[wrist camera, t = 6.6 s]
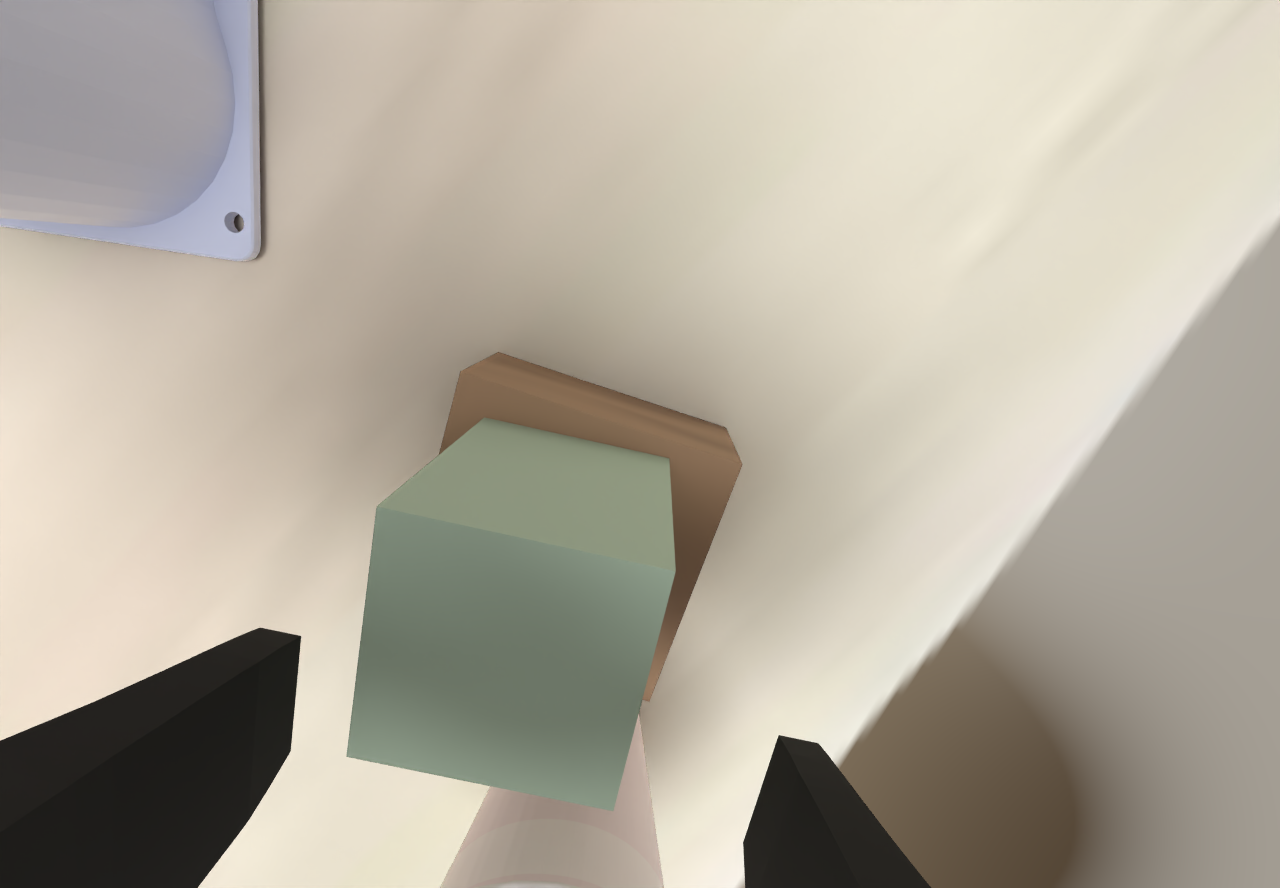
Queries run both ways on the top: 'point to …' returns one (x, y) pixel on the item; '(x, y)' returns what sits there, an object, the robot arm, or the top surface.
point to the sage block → (515, 613)
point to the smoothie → (563, 839)
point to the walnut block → (623, 421)
